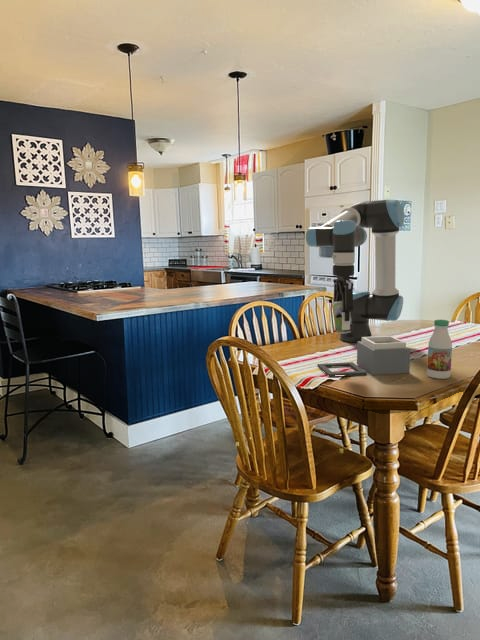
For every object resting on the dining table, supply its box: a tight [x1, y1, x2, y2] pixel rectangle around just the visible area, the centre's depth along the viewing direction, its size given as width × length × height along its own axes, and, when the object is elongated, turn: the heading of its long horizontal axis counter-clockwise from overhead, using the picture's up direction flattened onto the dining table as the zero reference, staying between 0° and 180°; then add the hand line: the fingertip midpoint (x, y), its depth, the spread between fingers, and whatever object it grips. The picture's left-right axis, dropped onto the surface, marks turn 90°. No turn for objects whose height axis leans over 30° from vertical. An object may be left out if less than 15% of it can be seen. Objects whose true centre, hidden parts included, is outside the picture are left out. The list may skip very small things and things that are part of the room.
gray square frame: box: [316, 361, 368, 377], centre depth 175 cm, size 14×14×1 cm
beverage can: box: [332, 301, 353, 335], centre depth 172 cm, size 6×7×12 cm
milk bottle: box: [426, 319, 453, 380], centre depth 164 cm, size 8×8×20 cm
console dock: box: [356, 335, 412, 376], centre depth 176 cm, size 15×14×11 cm
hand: (342, 327), depth 172 cm, fingers closed on beverage can, 7 cm apart
